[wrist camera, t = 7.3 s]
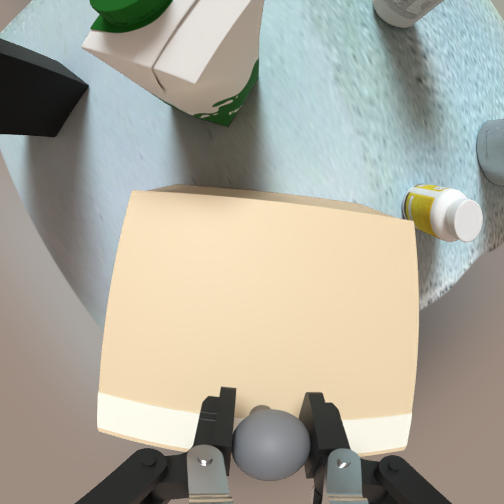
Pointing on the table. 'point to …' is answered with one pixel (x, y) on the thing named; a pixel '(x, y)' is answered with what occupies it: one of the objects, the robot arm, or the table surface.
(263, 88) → the table surface
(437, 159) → the table surface
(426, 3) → the energy drink can
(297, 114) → the table surface
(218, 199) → the flap
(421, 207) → the supplement bottle
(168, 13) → the milk carton
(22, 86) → the tall black box
